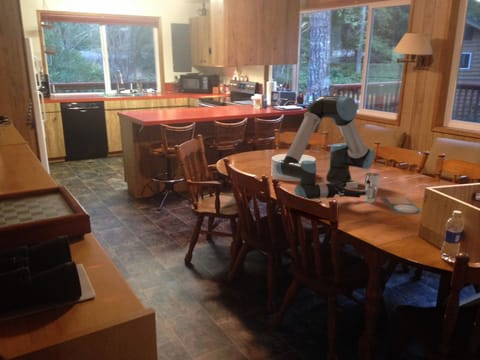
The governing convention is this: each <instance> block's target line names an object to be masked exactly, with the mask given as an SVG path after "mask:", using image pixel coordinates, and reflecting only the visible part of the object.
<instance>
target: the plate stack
mask: <svg viewBox="0 0 480 360" xmlns="http://www.w3.org/2000/svg"><path fill="white" fill-rule="evenodd" d="M286 155H287V153H279V154H276V155H273V156H272V157H271V161H270V162H271V163H270V164H271V170H270V172H271V173H270V175H271V177H272V178H273V179H276V180H279V181H284V182H300V179H299V178H295V177H291V176H286V175H285V176H284V175H282V174H279V173H278V172H277V171H276V164H277V162H278V161H279V160H284V159H285V157H286ZM306 160H308V161H314V162H315V163H316V161H317V159H316V157H314V156H312V155H309V154H303V155H302V157H301V159H300V161H299V163H300V164H301V162H302V161H306Z"/></svg>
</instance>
